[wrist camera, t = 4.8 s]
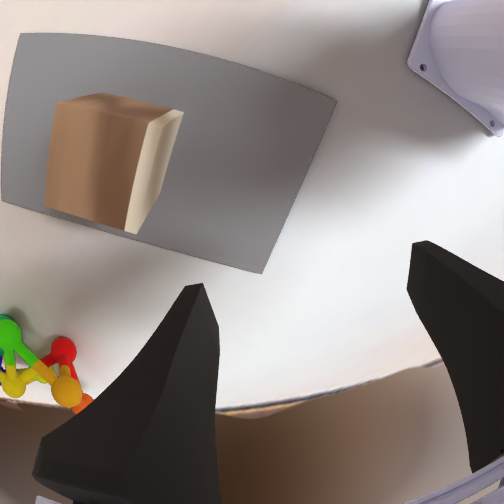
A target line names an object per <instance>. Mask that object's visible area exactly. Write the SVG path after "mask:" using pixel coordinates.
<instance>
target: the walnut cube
mask: <svg viewBox="0 0 504 504" xmlns="http://www.w3.org/2000/svg"><path fill="white" fill-rule="evenodd" d="M183 114H184V112H182V111H178V110H174V109H171V108H167V107H163V106H159V105H156V104H152V103H148V102H144V101H139V100H135V99H131V98H127V97H122V96H118V95H113V94H108V93H103V92H101V93H96V94H91V95H86V96H82V97H77V98H73V99H69V100H65V101H61V102H57V104H56V109H55V114H54V120H53V126H52V132H51V139H50V147H49V155H48V164H47V174H46V187H45V206H46V207H49V208H52V209H55V210H59V211H62V212H65V213H68V214H71V215H75V216H78V217H81V218H84V219H87V220H91V221H94V222H97V223H100V224H104V225H107V226H110V227H113V228H117V229H120V230H123V231H127V232H130V233H133V234H137V233H138V231H139V229H140V227H141V225H142V224H143V222H144V220H145V218H146V217H147V215H148V213H149V211H150V210H151V208H152V206H153V204H154V203H155V201H156V199H157V198H158V196H159V194H160V192H161V188H162V184H163V180H164V177H165V173H166V170H167V166H168V162H169V159H170V156H171V152H172V149H173V145H174V142H175V139H176V136H177V132H178V129H179V126H180V123H181V120H182V117H183Z"/></svg>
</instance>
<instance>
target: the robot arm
mask: <svg viewBox="0 0 504 504" xmlns="http://www.w3.org/2000/svg"><path fill="white" fill-rule="evenodd" d="M407 64H408V66H409V68H410V69H411V70H412V71H414V72H415V73H417V74H418V75H420V76H421V77H423V78H424V79H426V80H427V81H429V82H430V83H431V84H433V85H434V86H436V87H437V88H438V89H440V90H441V91H442V92H444V93H445V94H446V95H448V96H449V97H450V98H452V99H453V100H454V101H456V102H457V103H458V104H459V105H461V106H462V107H463V108H464V109H466V110H467V111H468V112H469V113H470V114H472V115H473V116H474V117H475V118H476V119H477V120H479V121H480V122H481V123H482V124H483V125H484V126H485V127H486V128H488V129H489V130H490V131H491V132H492V133H493V134H494V135H496V136H498V137H501V136H502V134H503V132H504V0H429V2H428V5H427V8H426V11H425V14H424V17H423V20H422V22H421V25H420V28H419V31H418V33H417V36H416V39H415V41H414V44H413V47H412V49H411V52H410V55H409V57H408V60H407ZM421 64H422V65H423V67H424V69H423V71H421V69H420V65H421ZM490 122H491V125H490ZM407 291H408V294H409V296H410V299H411V301H412V303H413V306H414V308H415V310H416V313H417V314H418V316H419V318H420V320H421V321H422V323H423V325H424V327H425V328H426V330H427V332H428V334H429V335H430V337H431V339H432V341H433V343H434V344H435V346H436V348H437V350H438V352H439V354H440V355H441V357H442V359H443V361H444V363H445V366H446V368H447V370H448V373H449V375H450V378H451V381H452V383H453V387H454V389H455V392H456V396H457V399H458V402H459V406H460V409H461V414H462V418H463V422H464V427H465V431H466V437H467V444H468V451H469V461H470V467H471V470H472V473H473V474H471V475H469V476H467V477H465V478H463V479H461V480H459V481H457V482H455V483H452V484H450V485H448V486H446V487H444V488H441V489H439V490H437V491H434V492H432V493H430V494H427V495H425V496H422V497H419V498H417V499H414V500H412V501H409V502H406V503H403V504H456V503H458V502H460V501H462V500H464V499H466V498H468V497H470V496H472V495H474V494H475V493H477V492H479V491H481V490H483V489H485V488H486V487H488V486H490V485H491V484H493V483H495V482H497V481H498V480H500V479H501V478H502V479H501V481H500V484H499V487H498V488H497V489H496V490H494V491H493V492H491V493H489V494H487V495H486V496H484V497H482V498H480V499H478V500H476V501H475V502H473V503H471V504H504V281H502V280H500V279H498V278H496V277H494V276H492V275H490V274H488V273H486V272H485V271H483V270H481V269H479V268H477V267H476V266H474V265H472V264H470V263H469V262H467V261H465V260H463V259H462V258H460V257H458V256H456V255H454V254H453V253H451V252H449V251H447V250H446V249H444V248H442V247H440V246H438V245H436V244H434V243H432V242H430V241H427V240H426V241H421V242H416V243H412V251H411V260H410V269H409V276H408V283H407ZM219 356H220V344H219V326H218V323H217V321H216V318H215V315H214V313H213V310H212V307H211V304H210V302H209V299H208V296H207V293H206V291H205V288H204V285H203V283H200V284H194V285H188V286H185V287H184V289H183V290H182V292H181V293H180V295H179V296H178V298H177V299H176V301H175V302H174V304H173V305H172V307H171V308H170V310H169V311H168V313H167V314H166V316H165V317H164V319H163V320H162V322H161V323H160V325H159V326H158V328H157V329H156V331H155V332H154V333H153V335H152V336H151V337H150V339H149V340H148V341H147V343H146V344H145V346H144V347H143V348H142V350H141V351H140V352H139V353H138V355H137V356H136V357H135V358H134V360H133V361H132V362H131V363H130V364H129V365H128V366H127V368H126V369H125V370H124V371H123V372H122V373H121V374H120V375H119V376H118V377H117V379H116V380H114V381H113V382H112V383H111V384H110V385H109V386H108V387H107V388H106V389H105V390H104V391H103V392H102V393H101V394H100V395H99V396H98V397H97V398H96V399H95V400H93V401H92V402H91V403H90V404H89V405H88V406H86V407H85V408H84V409H83V410H81V411H80V412H79V413H78V414H76V415H75V416H74V417H72V418H71V419H70V420H68V421H67V422H66V423H64V424H63V425H61V426H60V427H58V428H57V429H55V430H54V431H52V432H51V433H49V434H47V435H46V436H44V437H42V439H41V443H40V446H39V449H38V453H37V457H36V460H35V464H34V468H33V471H32V475H33V477H34V478H35V480H36V481H38V482H39V483H41V484H42V485H44V486H46V487H47V488H49V489H51V490H53V491H55V492H57V493H59V494H61V495H63V496H65V497H67V498H69V499H71V500H73V504H222V501H221V494H220V486H219V476H218V467H217V453H216V436H215V404H216V392H217V380H218V369H219ZM35 504H60V503H58V502H55V501H52V500H49V499H46V498H43V497H41V496H37V498H36V503H35Z"/></svg>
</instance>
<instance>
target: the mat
mask: <svg viewBox="0 0 504 504" xmlns="http://www.w3.org/2000/svg"><path fill="white" fill-rule="evenodd" d="M101 92H103V93H108V94H113V95H118V96H122V97H127V98H131V99H135V100H139V101H144V102H148V103H152V104H156V105H159V106H163V107H167V108H171V109H174V110H178V111H182V112H184V114H183V117H182V120H181V123H180V126H179V129H178V132H177V136H176V139H175V142H174V145H173V149H172V152H171V156H170V159H169V162H168V166H167V170H166V173H165V177H164V180H163V184H162V188H161V192H160V194H159V196H158V198H157V199H156V201H155V203H154V204H153V206H152V208H151V210H150V211H149V213H148V215H147V217H146V218H145V220H144V222H143V224H142V225H141V227H140V229H139V231H138V233H137V234H133V233H130V232H127V231H123V230H120V229H117V228H113V227H110V226H107V225H104V224H100V223H97V222H94V221H91V220H87V219H84V218H81V217H78V216H75V215H71V214H68V213H65V212H62V211H59V210H55V209H52V208H49V207H46V206H45V187H46V174H47V164H48V155H49V147H50V139H51V132H52V126H53V120H54V114H55V109H56V104H57V102H61V101H65V100H69V99H73V98H77V97H82V96H86V95H91V94H96V93H101ZM336 103H337V101H336V100H334V99H331V98H329V97H327V96H325V95H322V94H320V93H318V92H315V91H313V90H310V89H308V88H306V87H303V86H301V85H298V84H295V83H293V82H290V81H288V80H285V79H282V78H280V77H277V76H274V75H271V74H268V73H265V72H262V71H260V70H257V69H253V68H250V67H247V66H244V65H241V64H238V63H234V62H231V61H227V60H224V59H220V58H217V57H213V56H209V55H205V54H201V53H197V52H193V51H189V50H184V49H180V48H175V47H170V46H165V45H160V44H155V43H149V42H143V41H137V40H130V39H123V38H115V37H107V36H97V35H84V34H67V33H20V36H19V40H18V44H17V48H16V52H15V56H14V61H13V65H12V70H11V76H10V81H9V87H8V93H7V100H6V108H5V116H4V126H3V138H2V158H1V198H2V201H4V202H8V203H11V204H14V205H17V206H21V207H24V208H27V209H31V210H34V211H37V212H41V213H44V214H47V215H51V216H54V217H57V218H61V219H64V220H68V221H71V222H74V223H78V224H81V225H85V226H88V227H92V228H95V229H98V230H102V231H105V232H109V233H112V234H116V235H119V236H123V237H127V238H130V239H134V240H137V241H141V242H144V243H148V244H151V245H155V246H159V247H162V248H166V249H170V250H173V251H177V252H180V253H184V254H188V255H191V256H195V257H199V258H203V259H206V260H210V261H214V262H217V263H221V264H225V265H229V266H232V267H236V268H240V269H244V270H248V271H251V272H255V273H259V274H262V272H263V270H264V268H265V266H266V264H267V261H268V259H269V257H270V255H271V252H272V250H273V248H274V246H275V243H276V241H277V239H278V237H279V235H280V232H281V230H282V228H283V225H284V223H285V221H286V219H287V216H288V214H289V212H290V210H291V207H292V205H293V203H294V201H295V198H296V196H297V194H298V191H299V189H300V187H301V185H302V182H303V180H304V178H305V175H306V173H307V171H308V168H309V166H310V164H311V161H312V159H313V157H314V154H315V152H316V150H317V147H318V145H319V143H320V140H321V138H322V136H323V133H324V131H325V129H326V126H327V124H328V122H329V119H330V117H331V115H332V112H333V110H334V107H335V105H336Z"/></svg>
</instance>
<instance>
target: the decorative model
mask: <svg viewBox="0 0 504 504" xmlns="http://www.w3.org/2000/svg"><path fill="white" fill-rule="evenodd" d="M21 341H22V333H21V330H20V328H19V326H18V325H17V324H16V323H15V322H14V321H12V320H11V319H10V317H8V316H6V315H0V386H1V385H2V388H3V390H4V392H5V393H6V394H7V395H9V396H10V397H12V398H19V397H21V396H22V395H23V394H24V393H25V390H26V385H27V384H29V383H31V382H33V381H36V380H37V381H39V382H40V383H44V384H46V383H49V384H50V385H51V392H52V395H53V397H54V399H55V401H56V402H57V403H58V404H60V405H61V406H63V407H71V408H72V410H73V412H74V413H75V414H78V413H79V412H80V411H81V410H83V409H84V408H85V407H86V406H88V405H89V404H90V403H91V402H92V401H93V398H92V397H91V396H89V395H88V394H85V393H83V391H82V388H81V386H80V383H79V380H78V377H77V375H76V372H75V369H74V366H73V363H72V362H73V361H74V360H75V358H76V354H77V351H76V347H75V345H74V344H73V342H72V341H71V340H69V339H67V338H64V337H61V338H58V339H56V340H55V341H54V342H53V343H52V345H51V353H50V354H48V355H47V356H45V357H44V358H42V359H41V360H40V359H39V358H37V357H36V356H35V355H34V354H33V353H32V352H31V351H30V350H29V349H28V348H27V347H26V346H25V345H24V344H23V343H22V342H21ZM14 351H15V352H16V353H17V354H18V355H19V356H20V357H21V358H22V359H23V360H24V361H25V362H26V363H27V364H28V365H29V366H30V367H29V368H24V369H16V363H15V352H14ZM3 357H4V363H5V370H4V369H3V367H2V366H1V364H2V358H3ZM55 363H59V375H60V376H59V377H58V376H57V375H56V374H55V373H54V369H53V367H52V365H54V364H55Z"/></svg>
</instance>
